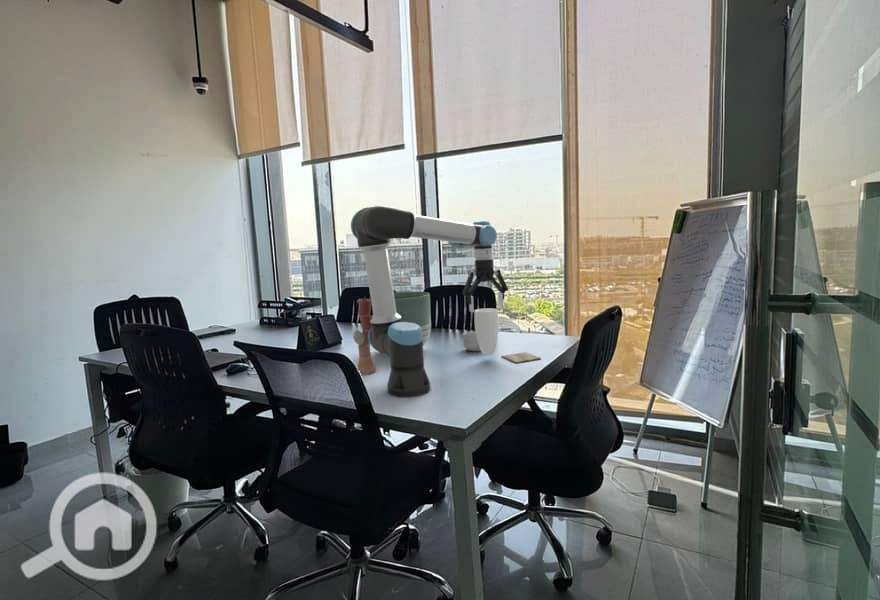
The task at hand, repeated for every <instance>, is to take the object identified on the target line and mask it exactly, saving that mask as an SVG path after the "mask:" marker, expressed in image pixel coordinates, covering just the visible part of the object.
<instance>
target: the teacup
mask: <svg viewBox="0 0 880 600" xmlns="http://www.w3.org/2000/svg"><path fill="white" fill-rule="evenodd" d="M462 341H463V342H462V343H463V347H464V348H465V349H466V350H467V351H469V352H481V350H480V347H479V344H478V341H477V337H476V333H475V331H465V332H464V333H462Z"/></svg>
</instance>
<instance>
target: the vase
mask: <svg viewBox="0 0 880 600" xmlns="http://www.w3.org/2000/svg"><path fill="white" fill-rule="evenodd" d="M356 303H357V304H359V311H358V312H359V313H358V317H359V320H360V324H361V327H362V331H360V330H358V329H355V330H354V331H353V335H352V337H353V341H354V342H355V344H357V347H358V354H359V357H358V364H357V369H358V370H359V371H360V373H361V375H362V374H363V375H364V374H365V375H364V376H367V375H366V374H368V375H372V373H373V374H375V373H376V371H377V369H376V365H375V362H374V359H373V358H372V354H371V344H370V342H369V338H368V334H369V330H370V329H371V323H370V321H371V319H372V318H373V314H371V309H372V308H371V307H372V302H371V298H360V299H357V301H356ZM361 375H360V376H361ZM363 375H362V376H363Z"/></svg>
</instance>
